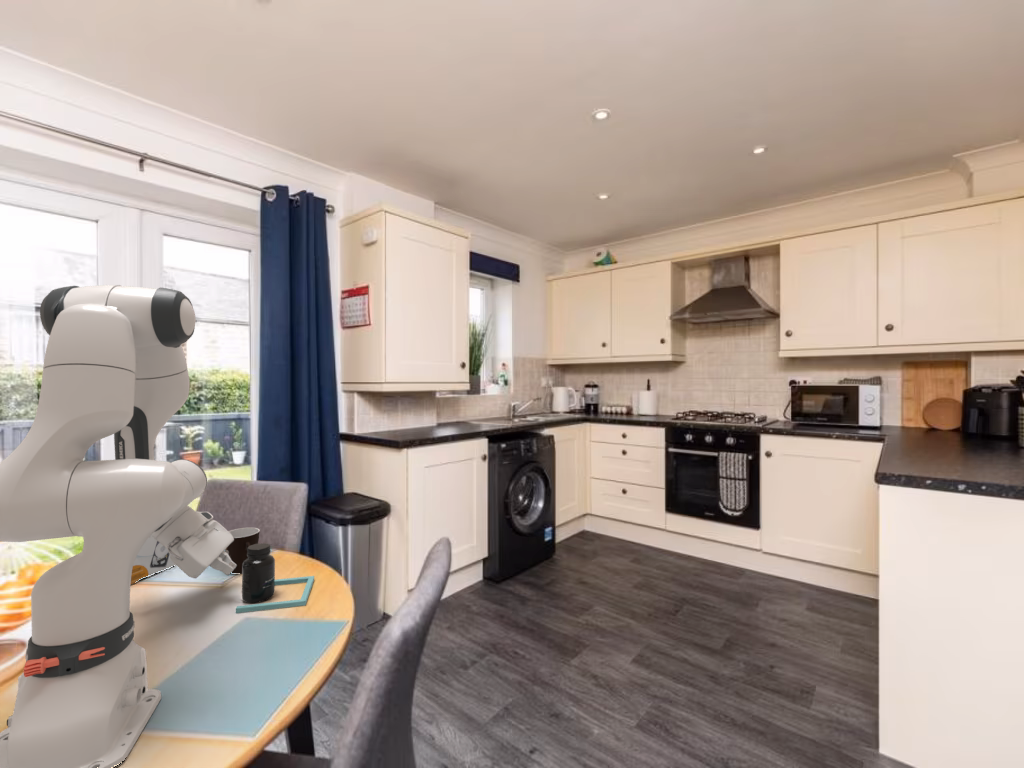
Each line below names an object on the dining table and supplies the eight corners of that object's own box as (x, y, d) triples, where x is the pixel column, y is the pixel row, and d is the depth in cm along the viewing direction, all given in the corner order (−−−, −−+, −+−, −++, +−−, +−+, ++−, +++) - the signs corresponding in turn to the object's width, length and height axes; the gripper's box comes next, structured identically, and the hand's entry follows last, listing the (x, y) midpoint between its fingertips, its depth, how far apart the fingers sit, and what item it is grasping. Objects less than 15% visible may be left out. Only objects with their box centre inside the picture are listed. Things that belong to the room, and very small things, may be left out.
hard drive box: (121, 590, 117) (120, 508, 117) (95, 587, 119) (94, 506, 119) (177, 565, 133) (176, 493, 132) (154, 563, 134) (153, 492, 134)
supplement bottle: (273, 600, 112) (273, 549, 111) (240, 606, 109) (240, 553, 109) (275, 588, 118) (275, 539, 118) (243, 593, 115) (243, 543, 115)
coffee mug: (228, 565, 133) (227, 529, 133) (262, 561, 135) (262, 526, 135) (215, 582, 122) (215, 543, 121) (254, 578, 124) (253, 539, 124)
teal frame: (305, 605, 109) (305, 601, 109) (235, 613, 106) (235, 608, 106) (314, 579, 123) (314, 575, 123) (252, 585, 120) (252, 581, 120)
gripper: (176, 535, 100) (229, 577, 102) (211, 510, 120) (254, 545, 122) (151, 558, 99) (205, 601, 101) (190, 529, 119) (235, 565, 121)
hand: (232, 570), depth 112 cm, fingers closed
